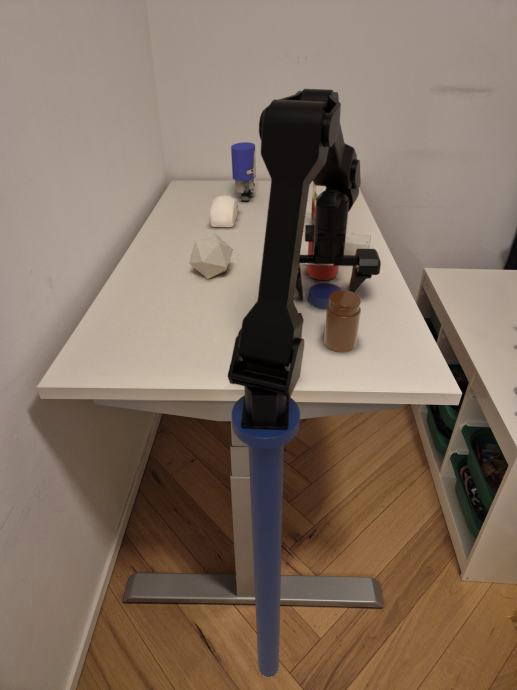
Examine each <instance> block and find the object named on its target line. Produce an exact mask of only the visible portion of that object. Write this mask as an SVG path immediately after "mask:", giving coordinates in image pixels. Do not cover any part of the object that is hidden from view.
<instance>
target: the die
mask: <svg viewBox="0 0 517 690" xmlns="http://www.w3.org/2000/svg"><path fill="white" fill-rule="evenodd" d="M191 250H192V251H191V254H190V258H189V261H188V264H190V266H192V267H193V268H194V269H195V270H196V271H197V272H199V273H200V274H201V275H202V276H203V277H205V278H206V279H207V280H209V279H211V278H213V277H217V276H218V275H220V274H223V273H224V272H225V273H226V272H227V268H228V266H229V263H230V261H231V257H232V254H233V251H234V248H233V247H231V246H230V245H229V244H228V243H227V242H226V241H225V240H223V239H222V238H221V237H220V236H219V235H218V234H217V233H215V232H214V233H211V234H209V235H207V236H206V235H205V236H203V237H201V238H197V239H196V240H194V244H193V247H192V249H191Z"/></svg>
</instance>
